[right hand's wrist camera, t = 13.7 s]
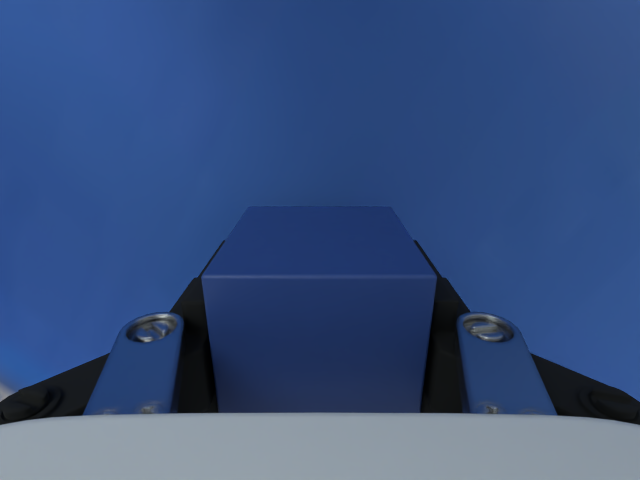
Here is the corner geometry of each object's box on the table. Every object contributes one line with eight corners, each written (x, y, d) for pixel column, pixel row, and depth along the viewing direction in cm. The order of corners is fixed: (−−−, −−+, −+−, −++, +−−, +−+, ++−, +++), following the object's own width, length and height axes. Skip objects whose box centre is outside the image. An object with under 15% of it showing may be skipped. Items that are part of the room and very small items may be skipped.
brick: (257, 338, 13) (224, 464, 9) (247, 206, 12) (199, 275, 7) (382, 338, 13) (414, 464, 9) (391, 206, 12) (438, 275, 7)
